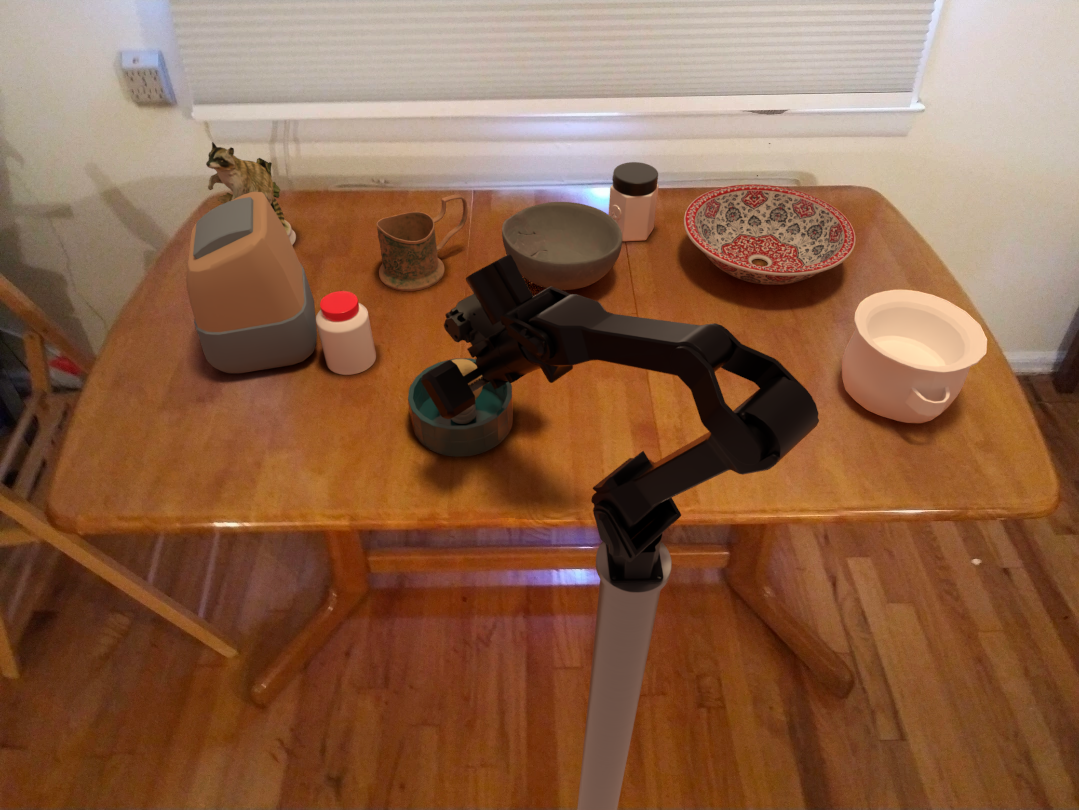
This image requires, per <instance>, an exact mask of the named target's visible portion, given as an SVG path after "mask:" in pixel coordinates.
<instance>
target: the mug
mask: <svg viewBox="0 0 1079 810" xmlns="http://www.w3.org/2000/svg"><path fill="white" fill-rule="evenodd" d="M440 200H441V201H440V202H441V208H440V211H439V213H438V214H437V215H436V216H435V217H432V216H431V215H430V214H427V213H425V212H422V211H408V212H404V213H403V212H402V213H399V214H395V215H390V216H386V217H383V218H380V219H379V220H377V222H376V223H375V225H376V230H377V239H378V242H379V249H380V256H381V261H382V264H381V265H380V266H379V269H378V276H379V279H380V281H381V282H382V284H383V285H385V286H386V287H388V288H389V289H393V290H396V291H402V292H415V291H420V290H421V291H422V290H425V289H428V288H430V287H432V286H434V285H436V284H437V283H438V282H440V281H441V279H443V277H444V275H445V265H444V262H443V260H441V259H440V258H439V257H438V252H439V251H441V250H442V249H443V248H444V247H445V246H446V244H447V243H448V242H449V240H450V239H451V238H452V237H453V236H455V234H457V233H458V232H459V231H461V230H462V229H463V227H464V226H465V224H466V223H467V219H468V213H469V212H468V202H467V200H466V199H465V197H463V196H462V195H460V194H451V195H447V196H444V197H442V198H441V199H440ZM454 200H461V202H462V215H461V220H460V221H459V223H458V224H457V225H456V226H455V227H454V228H452V229H451V230H450V231H448V232H447V233H446V235H445V236H444V237H443V238H442V240H441V241H440V242H439V243H438V244H437V238H436V237H437V236H436V229H435V226H436V225H435V223H437V222H440V221H441V220H442V219H443V217H444V216H445V215H446V209H447V202H451V201H454Z"/></svg>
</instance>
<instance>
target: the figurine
mask: <svg viewBox="0 0 1079 810" xmlns="http://www.w3.org/2000/svg"><path fill="white" fill-rule="evenodd" d="M234 154H235V149H234V147H232V146H230V147H229V148H225V147H223V146H219V147H218V146H217V145H216V144H215V143H214V141H212V142H211V150H210V151H209V152H208V154H207V155H208V160H207V161H206V162H205V165H206V167H207V168H209V169H212V170H214V171H215V172H216V173H215V174H213V175H210V177H209V179H208V186H207V189H208V190H209V191H212V190H214V186H215V184H222V185H223V184H224V185H225V187H226V188H227V189H229V190H230V191H231V192H232V193H231V192H226V194H223V195H220V196H219V197H218V198H217V202H220V203H221V204H224V203H226V202H229V201H231V200H233V199H235V198H237V197H239V196H241V195H244V194H247V193H250V192H262V193H263V194H264V195H265V197H266V198H267V200H268V201H269V203H270V205H271V206H272V208H273V210H274V211H275V213H276V215H277V216H278V218H279V219H280V221H281V223H282V224H283V226H284V228H285V230H286V232H287V235H288V237H289V239H290V241H291V244H292V246H294V244H295V242H296V240H297V235H296V232H295V231H294V229H293V228H292V225H291V224H290V222H289V221H287V220H285V214H284V212H283V210H282V207H281V206H280V204H279V202H278V200H277V199H279V198H280V193H281V188H280V186H279V185H277V184H276V182H275V181H273V179H272V165H273V163H272V162H271V161H267V160H265V159H263V158H261V157H258V158H256V162H255V161H252V160H247V159H246V160H245V159H240V158H238V157H237V156H235V155H234Z"/></svg>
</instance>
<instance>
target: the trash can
mask: <svg viewBox="0 0 1079 810" xmlns="http://www.w3.org/2000/svg"><path fill="white" fill-rule="evenodd" d="M187 259H188V260H187V267H186V275H185V285H186V291H187V296H188V300H189V305H190V308H191V311H192V314H193V318H194V319H193V324H194V326H195V330H196V333H197V336H198V339H199V342H200V345H201V349H202V352H203V354H204V357H205V360H206V361H207V362H208V364H210V365H211V366H212V367H213V368H214V369H216V370H218V371H220V372H223V373H226V374H244V373H245V374H246V373H250V372H256V371H264V370H269V369H275V368H282V367H288V366H293V365H296V364H298V363H303V362H305V360H306V359H308V358H309V357H310V356H311V355H313V353H314V351H315V349H316V346H317V340H318V328H317V324H316V308H315V307H316V306H315V299H314V296H313V293H312V290H311V285H310V283H309V280H308V277H307V273H306V271H305V268H304V267H303V264H302V263H301V262H300V260H299V258H298V255H297V252H296V250H295V248H294V245H292V244H291V241H290V239H289V237H288V235H287V232H286V230H285V228H284V226H283V224H282V223H281V221H280V219H279V218H278V216H277V215H276V213H275V211H274V210H273V208H272V206H271V205H270V203H269V201H268V200H267V198H266V197H265V195H264V194H263V193H262V192H250V193H247V194H244V195H241V196H239V197H237V198H235V199H233V200H231V201H229V202H226V203H224V204H223V203H221V204H219V205H218V206H216V207H214V208H212V209H210V210H209V211H208V212H206V213H205V214H203V215H202V217H200V218H199V219H198V220H197V221H196V222H195V224H194V226H193V228H192V230H191V234H190V242H189V251H188V258H187Z"/></svg>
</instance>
